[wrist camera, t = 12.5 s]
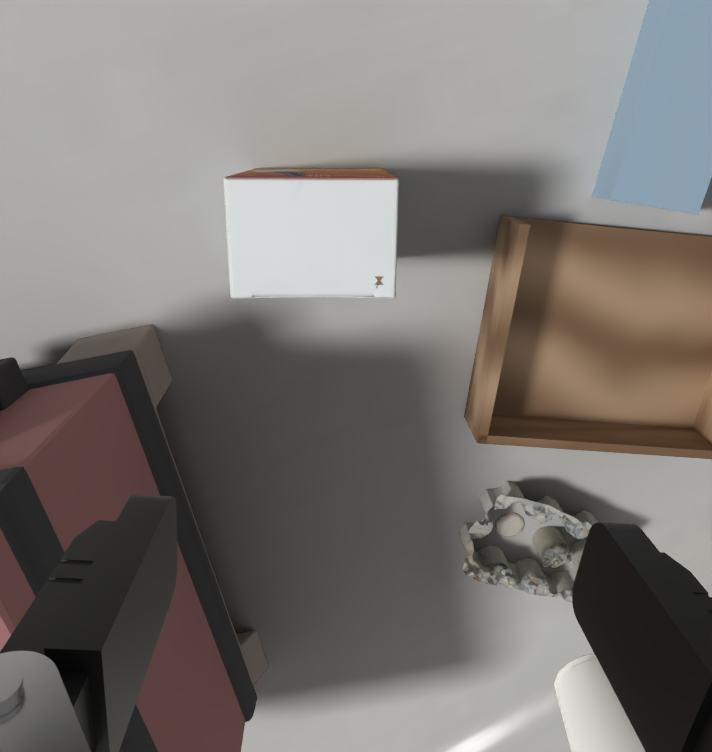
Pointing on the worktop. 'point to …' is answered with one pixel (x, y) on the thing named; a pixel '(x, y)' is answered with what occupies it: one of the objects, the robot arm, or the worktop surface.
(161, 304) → the worktop surface
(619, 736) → the foam cup
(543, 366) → the walnut box
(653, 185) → the light blue block
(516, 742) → the worktop surface
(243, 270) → the small box
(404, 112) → the worktop surface
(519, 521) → the egg carton
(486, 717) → the worktop surface
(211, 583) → the toaster
